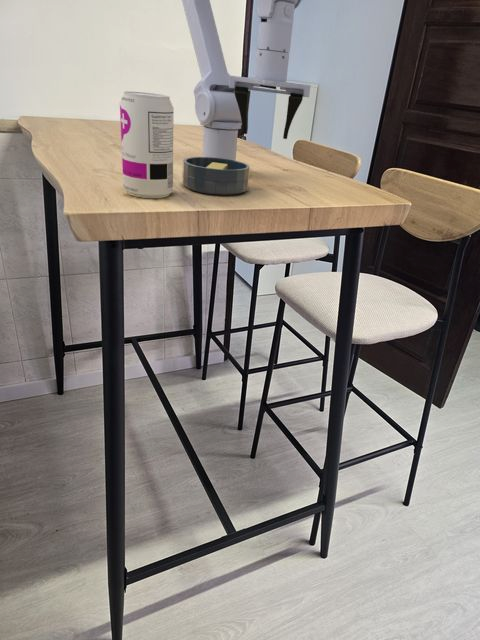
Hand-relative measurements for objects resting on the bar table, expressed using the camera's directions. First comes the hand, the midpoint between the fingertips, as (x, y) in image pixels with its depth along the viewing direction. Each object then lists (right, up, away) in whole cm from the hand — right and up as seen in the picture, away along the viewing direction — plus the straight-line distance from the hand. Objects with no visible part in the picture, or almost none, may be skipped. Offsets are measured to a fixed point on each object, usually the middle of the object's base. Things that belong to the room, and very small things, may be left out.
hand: (265, 135), depth 90 cm
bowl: (-9, -10, 0) cm, 14 cm away
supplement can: (-20, -14, -9) cm, 26 cm away
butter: (-9, -10, -1) cm, 13 cm away
